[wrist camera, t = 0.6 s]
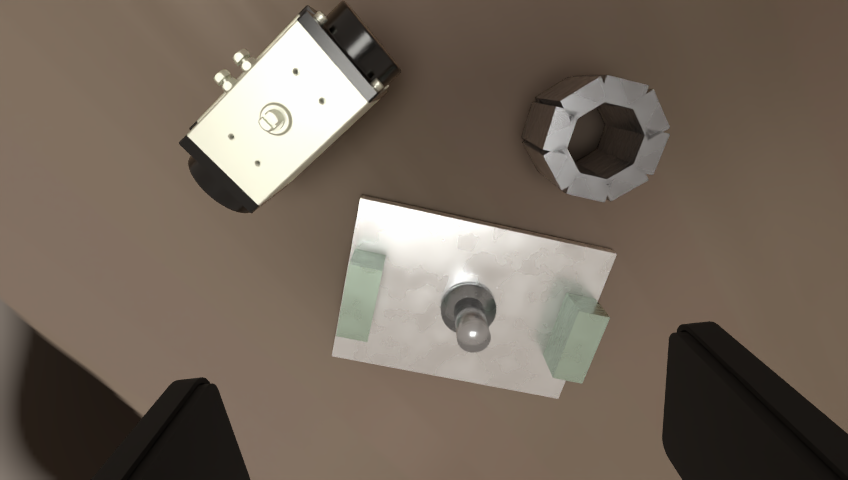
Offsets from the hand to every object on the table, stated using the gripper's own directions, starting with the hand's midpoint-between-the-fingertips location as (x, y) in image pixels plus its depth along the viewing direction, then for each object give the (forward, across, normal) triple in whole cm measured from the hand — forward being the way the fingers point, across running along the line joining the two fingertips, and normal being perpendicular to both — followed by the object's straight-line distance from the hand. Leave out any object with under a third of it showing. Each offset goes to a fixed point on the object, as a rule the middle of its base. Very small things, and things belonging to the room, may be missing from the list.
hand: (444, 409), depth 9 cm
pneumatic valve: (+25, +7, -6) cm, 27 cm away
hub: (+25, -10, -2) cm, 27 cm away
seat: (+25, -2, +11) cm, 27 cm away
